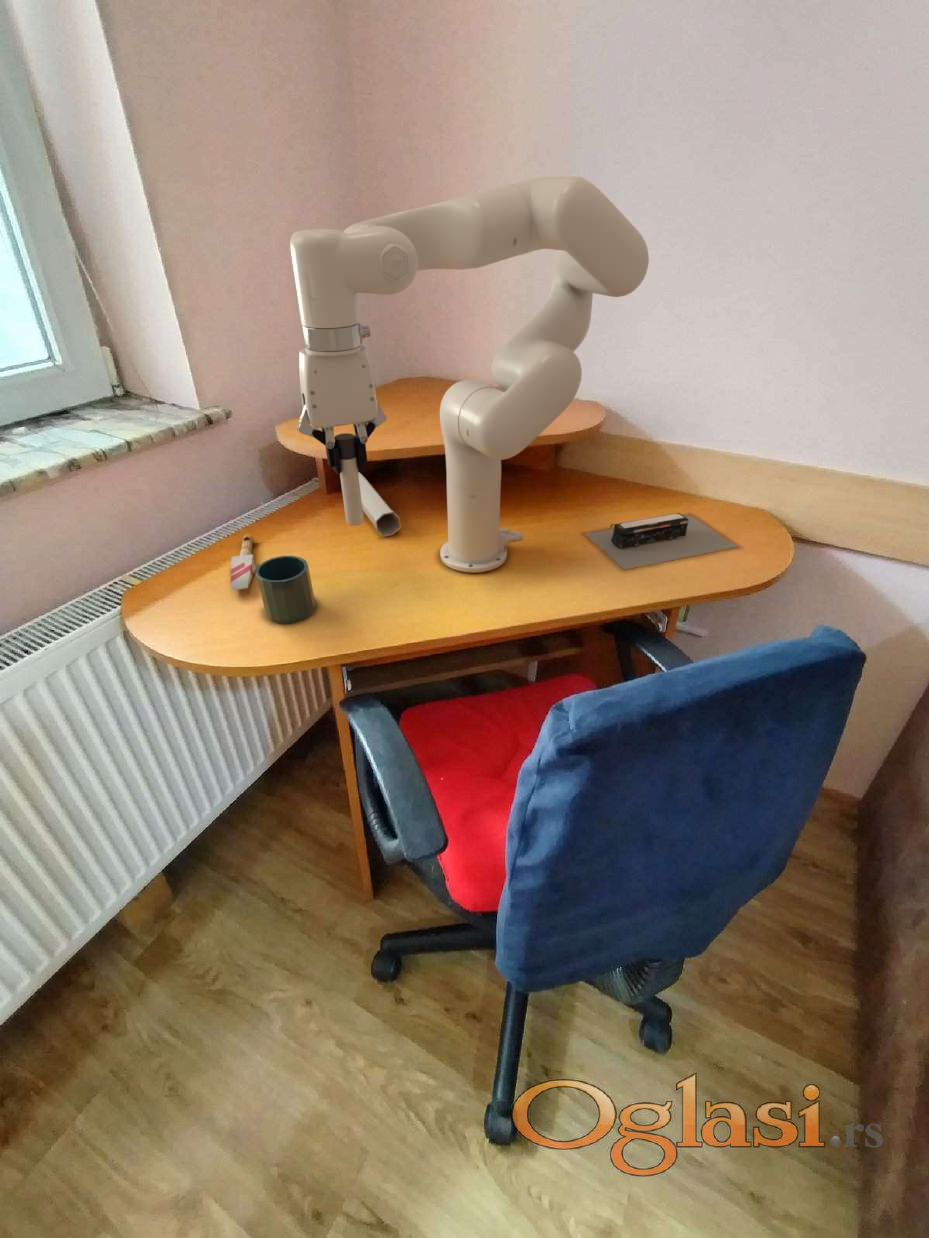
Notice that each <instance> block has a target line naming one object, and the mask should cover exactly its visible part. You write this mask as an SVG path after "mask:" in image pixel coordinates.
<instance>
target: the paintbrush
mask: <svg viewBox="0 0 929 1238" xmlns="http://www.w3.org/2000/svg"><path fill="white" fill-rule="evenodd" d="M241 542H242V543H241V548H240V553H239V555H236V556H234V555H233V556H231V557H230V591H235V590H243V589H248V588H249V586H250V583H251V582H252V579H253V576H254V574H255V573H256V572H255V571H256V569H257V565H256V563H255V559H254V554H252V549H253V544H254V543H253V542H254V537H253V536H252V535H251V534H245V535H243V537H242V541H241Z"/></svg>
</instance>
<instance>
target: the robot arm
mask: <svg viewBox="0 0 929 1238" xmlns="http://www.w3.org/2000/svg"><path fill="white" fill-rule="evenodd" d="M289 248H290V256H291V263H292V269H293V276H294V277H293V278H294V283H295V288H296V295H297V296H296V297H297V302H298V310H299V317H300V324H301V330H302V336H303V343H304V348H302V349H300V350H299V352H298V353H299V354H298V355H299V356H298V357H299V358H298V372H299V385H300V397H301V405H302V411H301V413H300V417H299V420H298V422H297V425H296V428H297V429H296V430H298V432H299V433H300V434H302V435H305V436H308V437H312V438H314V439H315V440H316V441H318V442H319V443H321V444H323V446H325V453H326V459H327V464H328V467H329V468H332V469H333V471H334V472H335V474H336V475H340V473H341V464H340V457H339V450H338V448H337V446H336V444H335V439H334V437H335V430H334V429H335V428H334V427H342V426H349V425H352V428H353V431H354V436H355V443H356V451H357V466H358V470H360V471H364V470H366V467H365V463H367V462H368V455H367V446H366V445H367V443H368V442H369V438H370V437H371V435H372V434H373V432H374V431H375V430H376V428H377V427H378V428H379V426H381V425H382V424H383V423H385V422H386V421H387V419H388V417H387V415H386V414H385V412H384V410H383V409H382V407H381V406H380V404H379V402H378V400H377V392H376V386H375V381H374V376H373V370H372V366H371V362H370V357H369V354H368V351H367V348H366V347H365V345H364V344H363V341H364V339H365V338H370V337H371V328H370V326H369V325H365V326H364V325H363V324H361V323H360V321H359V320H360V319H359V313H358V311H359V309H358V300H357V294H358V293H359V294H372V295H373V294H374V295H384V296H387V295H388V296H389V295H390V296H391V295H396V294H399V293H401V292H403V291H404V290H407V288H409V286H410V285H411V284H412V283H413V282H414V280H415V278H416V276H417V273H418V272H419V271H426V270H437V269H438V270H471V269H472V270H473V269H478V268H482V267H483V268H484V267H486V266H489V265H493V264H495V263H499V262H500V261H505V260H509V259H512V258H515V257H517V256H523V255H525V254H528V253H532V252H535V251H539V250H553V251H555V252H554V255H553V260H552V273H551V274H552V276H551V286H550V290H549V294H548V298H547V300H546V302H545V303H544V304H543V306H542V307H541V308H540V309H539V310H538V312H537V313H535V315H534V316H533V317H532V318H531V319H530V320H529V321H528V322H527V323H526V324H525V325H524V326H523V327H521V328H520V329H519V330H518V331H517V332H516V333H515V334H514V335H513V336H512V337H511V338H510V339H509V340H508V341H507V342H506V343H504V345H503V346H502V347H501V348H500V349H499V351H498V352H497V353H496V355H495V357H494V358H493V361H492V365H491V376H492V379H493V381H494V383H495V384H496V385H497V387H498V388H499V389H498V388H496V387H494V386H492V385H489V384H487V383H485V382H482V381H479V380H475V379H463V380H459V381H457V382H455V383H454V384H452V385H450V386H449V388H448V389H447V390H446V391H445V393H444V395H443V397H442V399H441V402H440V405H439V406H440V407H439V425H440V431H441V436H442V440H443V446H444V454H445V470H446V471H445V472H446V510H447V512H446V513H447V541H446V542H445V543H443V545H441V547H440V550H439V554H440V555H439V558H440V560H441V562H442V563H443V564H444V565H445V566H446V567H448V568H450V569H452V570H455V571H458V572H461V573H468V574H469V573H470V574H474V573H486V572H490V571H493V570H496V569H497V568H499V567H500V566H502V565H504V563H505V562H506V560H507V557H508V550H507V546H508V545H509V544H510V543H518V542H521V541H523V537H524V536H523V532H522V531H521V530H517V531H511V529H510V528H509V527H506V528H501V529H500V527H501V525H500V524H501V523H500V522H501V490H502V489H501V488H502V460H508V459H511V458H514V457H515V456H517V455H518V454H520V453H521V452H523V451H524V450H525V449H526V448H527V447H528V446H529V445H531V443H533V441H534V440H535V439H537V438H538V437H539V436H540V435H541V434H542V433H543V432H544V431H545V430H546V429H547V428H548V427H549V426H550V425H551V424H552V423H554V421H555V420H557V418H558V417H559V416H560V415H562V414H563V413H564V411H565V410H566V409H567V408H569V406H570V405H571V403H572V402H573V400H574V399H575V397H576V395H577V394H578V391H579V388H580V386H581V381H582V377H583V376H582V375H583V374H582V372H583V370H582V364H581V361H580V359H579V357H578V356H577V353H575V351H576V350H577V349H578V348H579V347H580V346H581V344H582V343H583V342H584V340H585V339H586V337H587V335H588V333H589V330H590V326H591V321H592V309H593V300H594V299H593V298H594V294H597V295H600V296H607V297H611V298H612V297H613V298H620V297H625V296H628V295H630V294H632V293H633V292H634V291H636V290H637V289H638V288H639V286H641V284H642V282H643V281H644V279H645V277H646V275H647V272H648V269H649V262H650V260H649V259H650V258H649V257H650V256H649V249H648V245H647V243H646V240H645V238H644V237H643V235H642V233H640V231H639V230H638V229H637V228H636V227H635V225H633V223H631V221H630V220H629V219H628V218H627V217H626V216H625V215H624V214H623V212H621V210H619V208H618V207H617V206H616V205H615V204H614V203H613V202H612V201H611V199H610V198H608V196H607V195H605V194H604V192H602V190H600V189H599V188H598V186H596V185H595V184H594V183H592V182H590V181H589V180H588V179H585V178H583V177H582V176H581V177H580V176H541V177H535V178H530V179H527V180H523V181H519V182H515V183H512V184H508V185H504V186H501V187H496V188H493V189H490V190H485V191H481V192H477V193H473V194H469V195H465V196H461V197H456V198H452V199H447V200H444V201H440V202H437V203H434V204H430V205H426V206H422V207H417V208H411V209H407V210H403V211H400V212H398V211H397V212H394V213H390V214H386V215H382V216H378V217H374V218H370V219H366V220H363V221H359V222H356V223H353V224H352V225H349V226H348V227H347V228H345V229H344V230H343V231H342V230H340V229H335V228H333V229H332V228H311V229H301V230H297V231H295V232H293V234H292V235H291V236H290V240H289ZM501 390H502V391H501Z"/></svg>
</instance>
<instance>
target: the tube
mask: <svg viewBox="0 0 929 1238" xmlns="http://www.w3.org/2000/svg"><path fill="white" fill-rule="evenodd" d="M358 475H359V483H360V492H361V501H362V510H363V513H364V514H365V515H366V517H367V519H369V522H371V523H372V525H373V527H374V528H375V531H376V532H377V533H378V534H379V535H380V536H381V537H383V538H386V537H391V536H394V535H395V534H396V533H397V532H398V531H399V530H400V529H401V527H402V525H401V518H400V517H399V515H398V514H397V513H395V511H394V510H393V509H392V508H391V507H390V506H389V505H388V503H387V502H386V501H385V500H384V499H383V497H381V495H380V494H379V493H378V491H377V490H376V489H375V488H374V486H373V485H372V484H371V483H370V482H369V481H368V479H367V478H366V477H365V476H364V475H363V474H362V473H361V472H359V471H358Z"/></svg>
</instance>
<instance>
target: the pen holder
mask: <svg viewBox="0 0 929 1238" xmlns="http://www.w3.org/2000/svg"><path fill="white" fill-rule="evenodd" d="M254 573H255V576H256V580H257V584H258V588H259V592H260V596H261V600H262V604H263V607H264V612H265V615H266V617H267V619H268V620H269V621H271V622H274V623H276V624H283V625H284V624H294V623H298V622H301V621H304V620H306V619H308V618H309V617H310V616H312V614H313V613H314V612H315V610H316V601H315V600H316V599H315V594H314V589H313V584H312V579H311V575H310V574H311V573H310V568H309V564H308V561H307V560H306V559H304V558H302V557H301V556H295V555H280V556H275V557H271V558H268V559H267V560H265V561H263V562H261V563H260V564H259V565H257V566H256V570H255V572H254Z"/></svg>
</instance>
